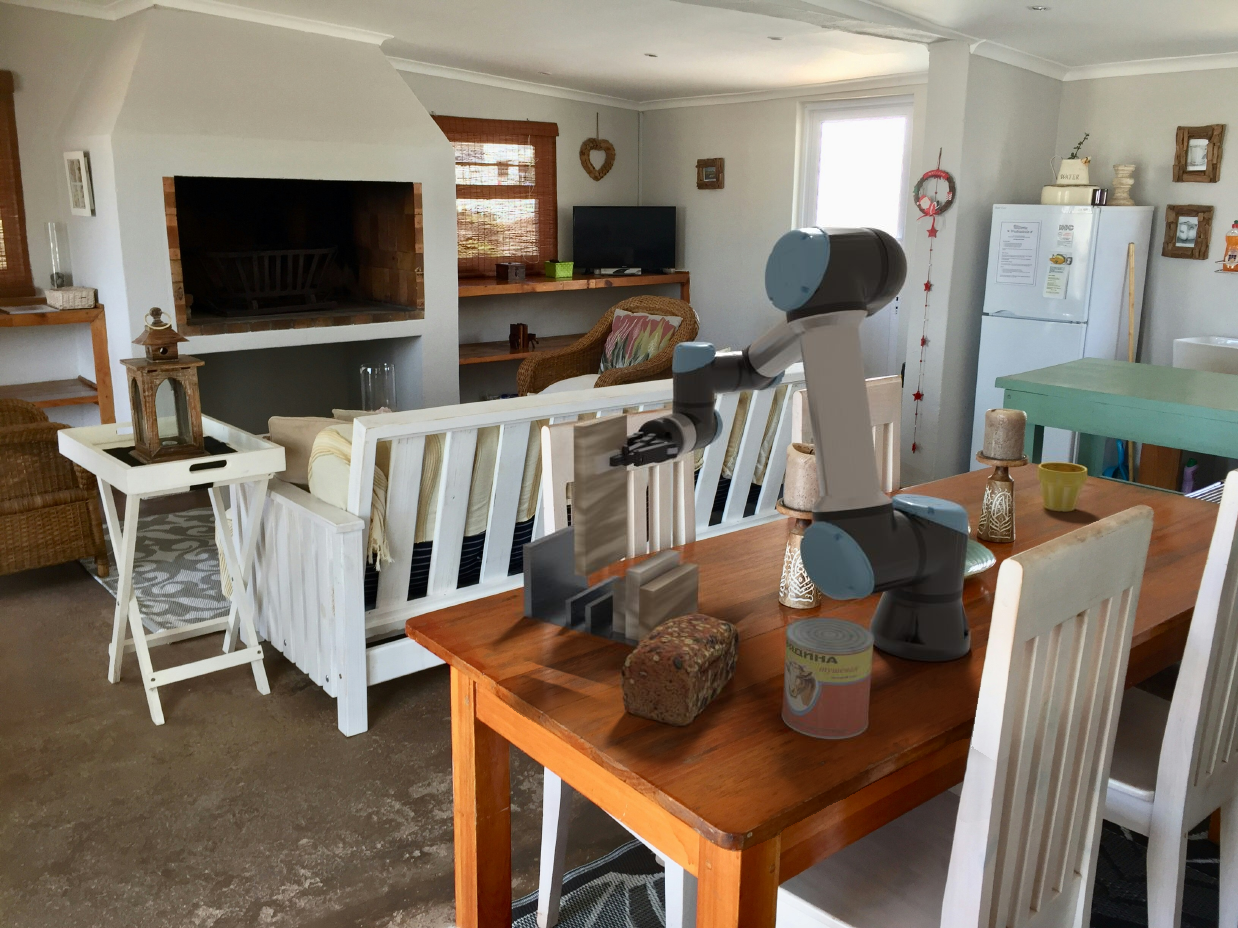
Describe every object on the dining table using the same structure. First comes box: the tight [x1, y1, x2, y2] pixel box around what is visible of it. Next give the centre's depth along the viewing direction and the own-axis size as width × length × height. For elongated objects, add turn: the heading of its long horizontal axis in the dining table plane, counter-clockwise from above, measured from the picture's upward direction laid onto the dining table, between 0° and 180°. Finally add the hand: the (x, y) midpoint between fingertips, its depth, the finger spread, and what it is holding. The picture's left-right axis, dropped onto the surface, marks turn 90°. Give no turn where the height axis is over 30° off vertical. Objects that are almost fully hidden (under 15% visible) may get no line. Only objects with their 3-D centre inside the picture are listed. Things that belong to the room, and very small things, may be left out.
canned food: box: [781, 616, 874, 740], centre depth 132 cm, size 11×11×12 cm
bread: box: [620, 613, 740, 727], centre depth 139 cm, size 19×11×10 cm, turn 153°
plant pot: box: [1037, 461, 1088, 513], centre depth 230 cm, size 10×10×10 cm
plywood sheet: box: [572, 412, 628, 577], centre depth 160 cm, size 2×12×24 cm, turn 147°
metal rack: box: [522, 523, 639, 648], centre depth 162 cm, size 25×16×14 cm, turn 57°
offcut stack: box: [613, 548, 700, 641], centre depth 158 cm, size 8×14×11 cm, turn 147°
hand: (588, 464), depth 156 cm, fingers closed on plywood sheet, 2 cm apart
